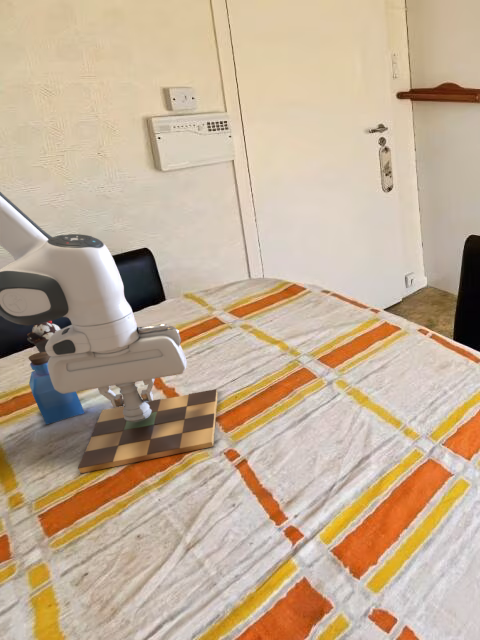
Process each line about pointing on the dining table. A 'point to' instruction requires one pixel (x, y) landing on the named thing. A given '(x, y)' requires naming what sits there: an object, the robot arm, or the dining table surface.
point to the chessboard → (152, 431)
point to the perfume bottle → (51, 392)
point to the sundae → (42, 334)
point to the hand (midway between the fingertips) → (133, 403)
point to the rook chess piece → (133, 403)
